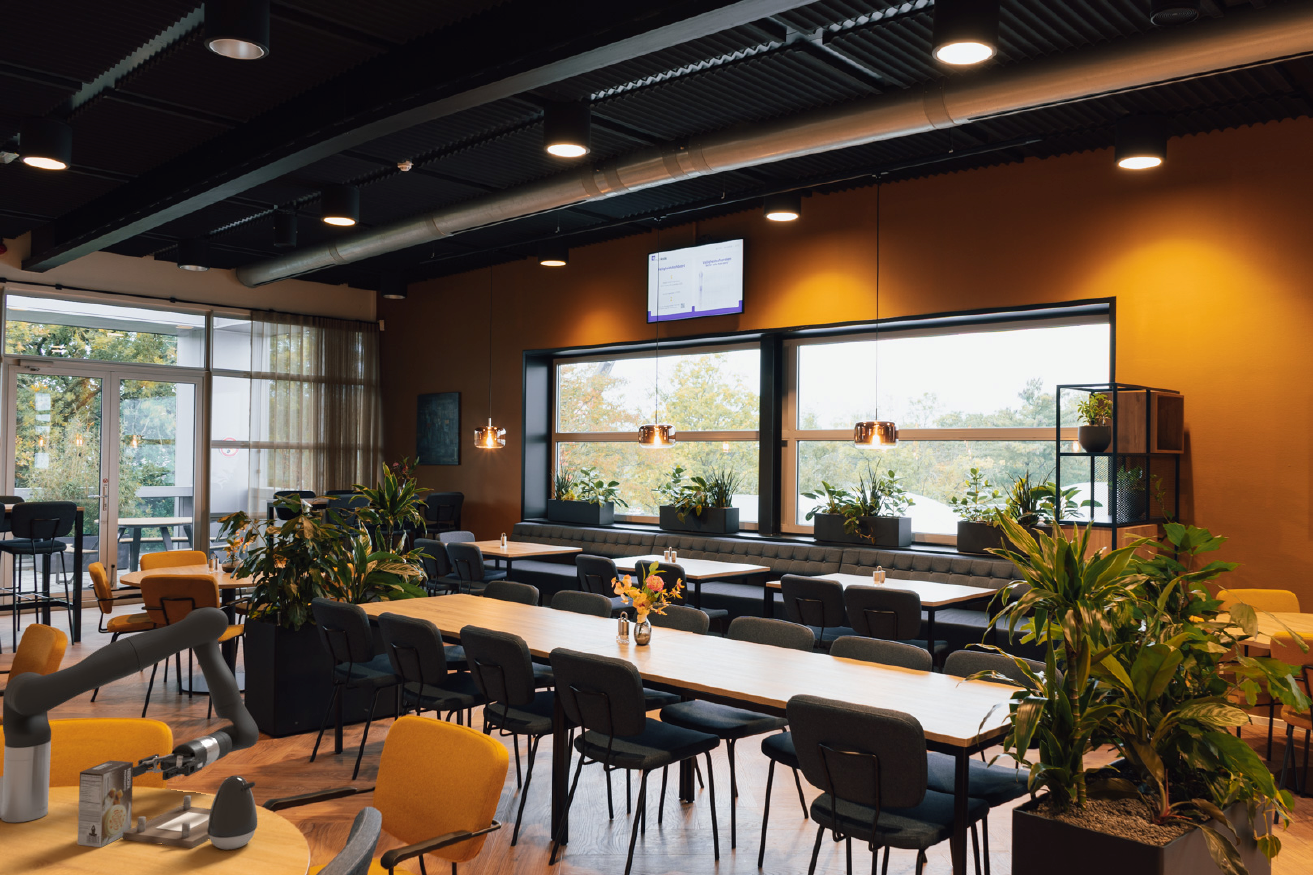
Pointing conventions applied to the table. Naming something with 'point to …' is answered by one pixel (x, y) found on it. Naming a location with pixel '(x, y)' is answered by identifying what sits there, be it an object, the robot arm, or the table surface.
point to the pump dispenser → (232, 814)
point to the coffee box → (105, 803)
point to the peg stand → (173, 827)
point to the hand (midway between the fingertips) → (148, 774)
